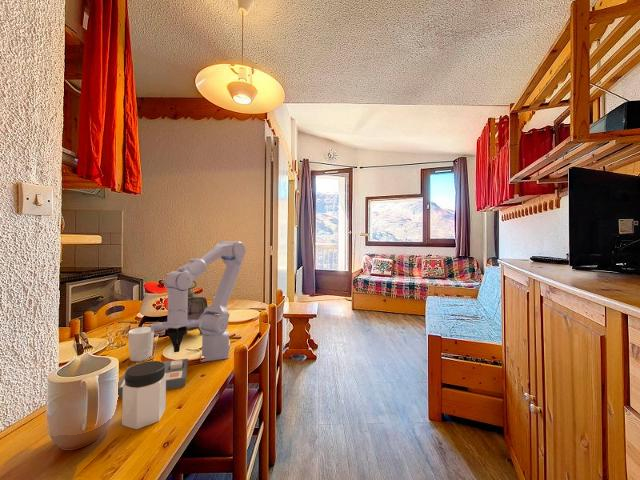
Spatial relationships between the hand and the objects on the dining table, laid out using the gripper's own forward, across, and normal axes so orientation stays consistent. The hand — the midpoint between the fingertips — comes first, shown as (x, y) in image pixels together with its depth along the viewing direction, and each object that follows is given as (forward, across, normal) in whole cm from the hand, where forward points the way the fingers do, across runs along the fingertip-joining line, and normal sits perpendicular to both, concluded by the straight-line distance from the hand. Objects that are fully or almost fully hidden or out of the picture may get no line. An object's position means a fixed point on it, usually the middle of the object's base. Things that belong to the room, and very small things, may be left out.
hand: (176, 351), depth 87 cm
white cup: (+8, -13, +18) cm, 23 cm away
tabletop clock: (+8, +1, +37) cm, 38 cm away
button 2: (+6, 0, 0) cm, 6 cm away
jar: (+8, -5, -21) cm, 23 cm away
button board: (+7, -6, -2) cm, 9 cm away
